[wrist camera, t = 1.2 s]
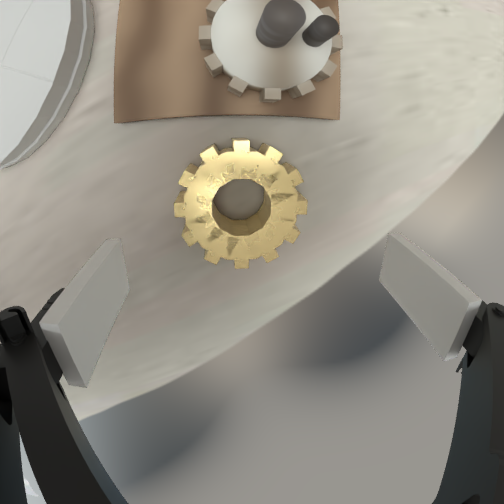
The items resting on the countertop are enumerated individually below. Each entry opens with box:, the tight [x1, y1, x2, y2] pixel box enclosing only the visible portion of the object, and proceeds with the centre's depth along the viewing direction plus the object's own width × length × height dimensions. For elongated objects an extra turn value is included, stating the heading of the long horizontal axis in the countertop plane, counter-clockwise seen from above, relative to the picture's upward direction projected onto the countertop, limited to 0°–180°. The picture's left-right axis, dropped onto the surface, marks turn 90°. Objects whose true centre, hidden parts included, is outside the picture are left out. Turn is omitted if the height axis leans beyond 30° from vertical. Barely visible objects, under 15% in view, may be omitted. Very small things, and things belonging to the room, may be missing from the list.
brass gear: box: [174, 138, 308, 269], centre depth 24 cm, size 10×10×4 cm
